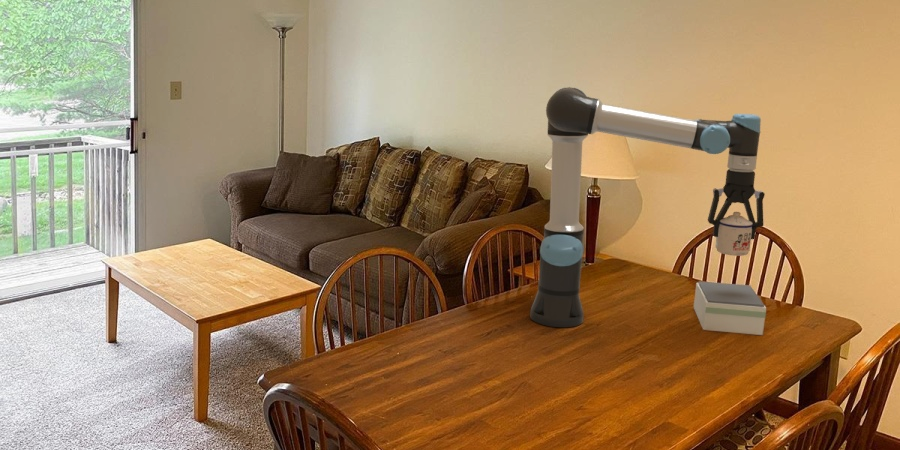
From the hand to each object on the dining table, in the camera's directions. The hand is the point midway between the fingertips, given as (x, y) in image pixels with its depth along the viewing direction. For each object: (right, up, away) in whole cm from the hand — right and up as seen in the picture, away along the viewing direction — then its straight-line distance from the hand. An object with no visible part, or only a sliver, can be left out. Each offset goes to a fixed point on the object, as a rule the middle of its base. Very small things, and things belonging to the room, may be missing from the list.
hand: (732, 248), depth 226 cm
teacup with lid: (+1, -1, 0) cm, 1 cm away
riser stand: (0, -21, +5) cm, 22 cm away
